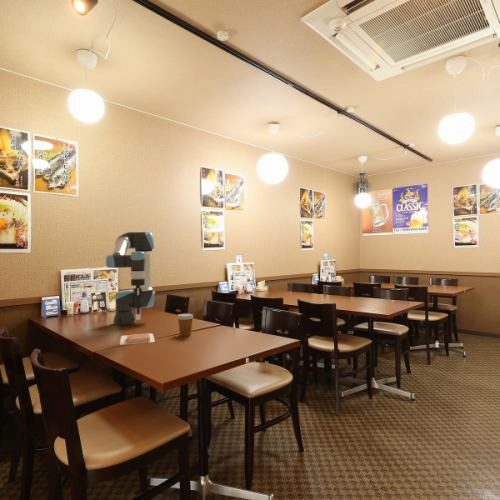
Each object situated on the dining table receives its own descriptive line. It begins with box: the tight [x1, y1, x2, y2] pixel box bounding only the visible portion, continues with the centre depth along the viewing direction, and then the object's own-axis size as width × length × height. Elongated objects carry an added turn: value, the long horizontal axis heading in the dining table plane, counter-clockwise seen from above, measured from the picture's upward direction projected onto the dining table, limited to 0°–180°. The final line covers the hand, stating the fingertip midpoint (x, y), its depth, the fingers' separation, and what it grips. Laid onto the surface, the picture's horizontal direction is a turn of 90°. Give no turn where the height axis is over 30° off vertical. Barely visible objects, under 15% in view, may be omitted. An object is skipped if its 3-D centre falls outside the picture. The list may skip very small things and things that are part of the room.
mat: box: [119, 332, 155, 346], centre depth 199 cm, size 22×18×1 cm
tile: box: [127, 332, 150, 344], centre depth 196 cm, size 2×12×12 cm
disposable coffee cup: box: [177, 313, 194, 337], centre depth 210 cm, size 10×10×12 cm
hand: (138, 319), depth 201 cm, fingers closed
